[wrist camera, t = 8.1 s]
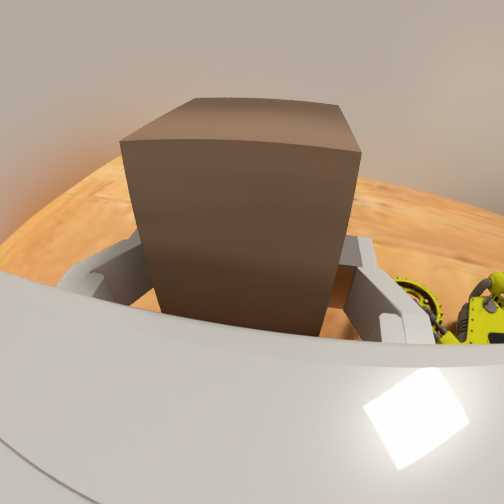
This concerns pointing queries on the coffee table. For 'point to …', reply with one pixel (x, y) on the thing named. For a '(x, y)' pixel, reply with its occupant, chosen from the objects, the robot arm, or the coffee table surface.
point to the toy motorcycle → (466, 312)
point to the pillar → (244, 209)
